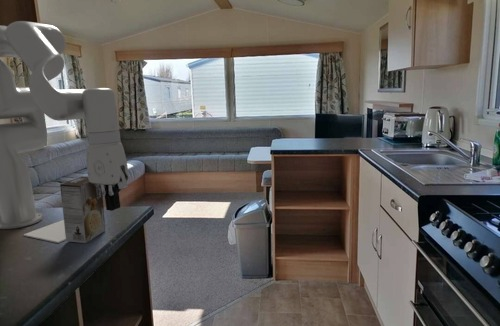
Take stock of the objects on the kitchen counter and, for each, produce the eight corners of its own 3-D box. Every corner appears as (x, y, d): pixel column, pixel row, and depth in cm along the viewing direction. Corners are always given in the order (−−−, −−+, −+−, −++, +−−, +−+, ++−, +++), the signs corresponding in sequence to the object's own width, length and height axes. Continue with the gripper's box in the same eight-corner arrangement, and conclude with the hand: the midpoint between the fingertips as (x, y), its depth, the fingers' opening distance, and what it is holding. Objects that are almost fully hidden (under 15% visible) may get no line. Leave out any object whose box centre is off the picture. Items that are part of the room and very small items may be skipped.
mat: (23, 235, 105) (23, 234, 105) (66, 219, 117) (66, 218, 117) (58, 243, 98) (58, 241, 98) (100, 225, 110) (100, 224, 110)
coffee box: (86, 228, 107) (82, 175, 103) (106, 230, 105) (102, 177, 102) (64, 241, 98) (59, 183, 95) (86, 243, 97) (81, 185, 93)
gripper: (71, 140, 91) (81, 210, 95) (114, 140, 84) (123, 216, 88) (95, 136, 98) (104, 202, 101) (137, 136, 91) (145, 207, 94)
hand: (113, 208), depth 94 cm, fingers closed
